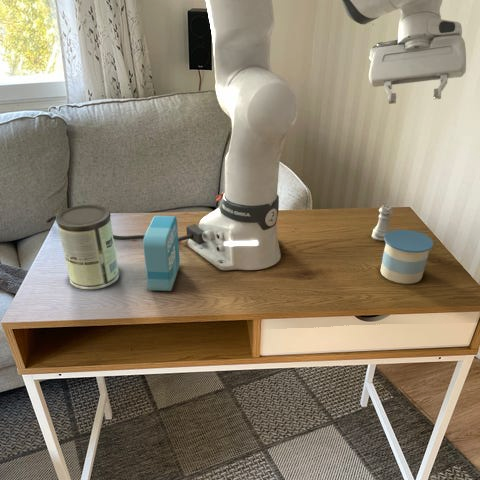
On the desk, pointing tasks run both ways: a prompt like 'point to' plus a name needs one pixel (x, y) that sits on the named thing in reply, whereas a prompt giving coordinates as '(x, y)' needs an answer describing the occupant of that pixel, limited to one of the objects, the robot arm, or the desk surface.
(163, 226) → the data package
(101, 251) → the coffee can
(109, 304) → the desk surface
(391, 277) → the yogurt tub
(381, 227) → the rook chess piece
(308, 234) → the desk surface
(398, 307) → the desk surface
